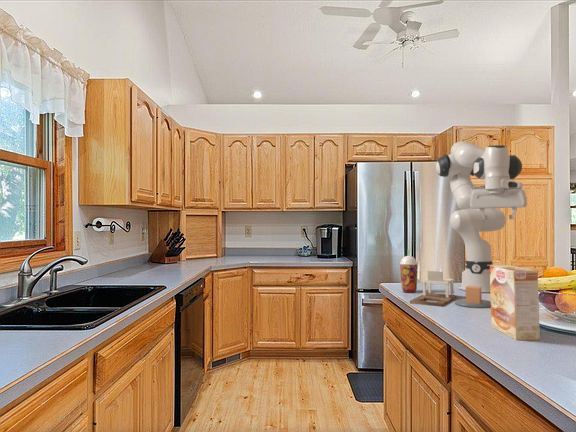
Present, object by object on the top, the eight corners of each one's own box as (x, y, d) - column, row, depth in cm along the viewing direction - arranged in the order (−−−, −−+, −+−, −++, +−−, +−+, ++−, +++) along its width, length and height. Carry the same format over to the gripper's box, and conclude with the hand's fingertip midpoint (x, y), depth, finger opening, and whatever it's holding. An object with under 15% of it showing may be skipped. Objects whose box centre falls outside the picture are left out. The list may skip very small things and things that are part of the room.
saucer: (459, 300, 174) (459, 297, 174) (496, 303, 165) (496, 300, 165) (451, 305, 162) (450, 303, 162) (489, 309, 154) (489, 306, 154)
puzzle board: (426, 295, 187) (426, 292, 187) (456, 297, 179) (456, 295, 179) (409, 303, 169) (409, 300, 169) (442, 306, 161) (442, 303, 161)
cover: (428, 292, 186) (428, 268, 186) (454, 294, 180) (453, 269, 180) (422, 295, 179) (421, 270, 179) (448, 297, 172) (447, 272, 173)
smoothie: (403, 290, 201) (402, 249, 202) (420, 291, 197) (419, 249, 197) (397, 292, 195) (396, 250, 195) (415, 294, 190) (414, 250, 190)
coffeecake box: (490, 326, 130) (488, 265, 130) (513, 326, 129) (511, 264, 130) (515, 340, 115) (513, 270, 115) (541, 340, 114) (539, 270, 115)
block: (468, 300, 167) (467, 285, 167) (481, 301, 165) (481, 286, 165) (465, 302, 163) (465, 287, 163) (479, 303, 160) (479, 288, 160)
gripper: (467, 186, 168) (468, 220, 168) (525, 182, 156) (526, 219, 155) (471, 187, 173) (472, 220, 173) (527, 183, 161) (528, 219, 161)
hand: (498, 219), depth 164 cm, fingers open, 8 cm apart
